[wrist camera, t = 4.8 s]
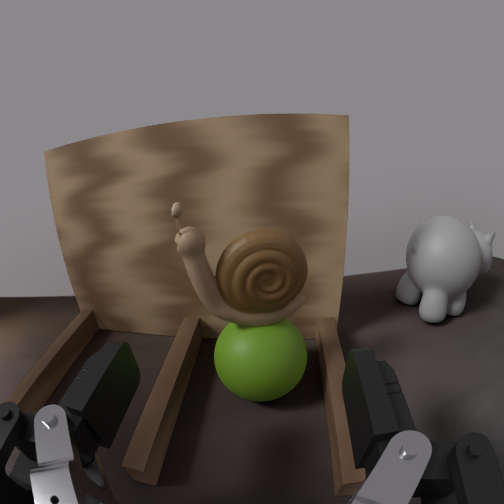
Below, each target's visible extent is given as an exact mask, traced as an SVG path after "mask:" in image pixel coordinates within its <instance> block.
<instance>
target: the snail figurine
mask: <svg viewBox="0 0 504 504" xmlns="http://www.w3.org/2000/svg"><path fill="white" fill-rule="evenodd" d="M182 211H183V205H182V204H181V203H179V202H175V203H174V204H173V206H172V209H171V215H172V217H174V218H175V219H176V226H177V231H178V233H177V234H176V236H175V243H176V244H177V245H178V247H177V251H178V252H179V254H180V255H181V256H182V258H183V261H184V264H185V267H186V270H187V273H188V275H189V278H190V280H191V282H192V285H193V287H194V289H195V291H196V293H197V295H198V297H199V298H200V300H201V301H202V303H203V304H204V306H205V307H206V308H207V309H208V310H209V311H210V312H211V313H212V314H213V315H214V316H216V317H217V318H219V319H221V320H224V321H227V322H230V323H229V324H228V325H227V326H226V327H225V328H224V329H223V331H222V332H221V334H220V335H219V337H218V340H217V342H216V345H215V350H214V363H215V368H216V371H217V374H218V376H219V378H220V379H221V381H222V382H223V384H224V385H225V386H226V387H227V388H228V389H229V390H230V391H231V392H233V393H234V394H236V395H237V396H239V397H241V398H244V399H247V400H251V401H270V400H274V399H277V398H279V397H282V396H284V395H285V394H287V393H288V392H290V391H291V390H292V389H293V388H294V387H295V386H296V385H297V384H298V382H299V381H300V379H301V378H302V376H303V374H304V371H305V368H306V364H307V348H306V344H305V341H304V339H303V336H302V335H301V333H300V331H299V330H298V329H297V327H296V326H295V325H294V324H293V323H292V322H290V321H289V320H288V319H287V318H289V317H290V316H291V315H293V314H294V313H295V312H296V311H297V310H298V309H299V308H300V307H301V306H302V304H303V303H304V301H305V297H304V296H297V295H298V294H299V293H300V292H301V290H302V289H303V287H304V284H305V282H306V279H307V274H308V264H307V260H306V256H305V254H304V252H303V250H302V248H301V246H300V245H299V244H298V243H297V242H296V241H295V240H294V239H293V238H291V237H290V236H288V235H286V234H284V233H282V232H279V231H275V230H269V229H260V230H254V231H250V232H248V233H245V234H243V235H241V236H239V237H237V238H236V239H234V240H233V241H232V242H231V243H230V244H229V245H228V246H227V247H226V248H225V250H224V251H223V252H222V254H221V256H220V258H219V260H218V263H217V267H216V274H215V276H214V275H213V272H212V270H211V268H210V265H209V263H208V260H207V258H206V255H205V246H206V239H205V236H204V234H203V233H202V231H201V230H199V229H198V228H195V227H185V228H182V229H181V227H180V224H179V218H178V217H180V216H181V215H182ZM177 222H178V223H177ZM178 226H179V228H178ZM179 230H180V231H179Z"/></svg>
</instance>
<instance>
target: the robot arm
mask: <svg viewBox="0 0 504 504" xmlns="http://www.w3.org/2000/svg"><path fill="white" fill-rule="evenodd" d="M139 382H140V371H139V368H138V366H137V363H136V361H135V358H134V356H133V353H132V350H131V347H130V345H129V344H128V343H127V342H120V341H112V340H109V341H108V342H107V343H106V344H105V345H104V347H103V348H102V350H101V351H97V352H96V353H95V354H93V355H92V356H91V357H90V358H88V359H87V361H86V362H85V364H84V365H83V367H82V370H80V371H79V373H78V374H77V377H75V378H74V380H73V381H72V383H71V384H70V386H69V387H68V389H67V391H66V392H65V394H64V395H63V397H62V398H61V400H60V401H59V403H58V404H57V405H47V406H45V407H43V408H41V409H40V410H39V411H38V412H37V413H27V412H22V411H21V410H20V408H19V407H18V406H17V404H15V403H14V402H5V403H3V404H1V405H0V504H119V503H118V501H117V500H116V499H115V497H114V496H113V494H112V492H111V490H110V487H109V485H108V482H107V479H106V476H105V473H104V470H103V467H102V464H101V461H100V457H99V454H98V452H97V451H96V450H97V448H98V446H102V447H105V448H109V449H110V447H111V444H112V442H113V440H114V438H115V435H116V433H117V431H118V429H119V426H120V424H121V422H122V420H123V418H124V415H125V413H126V411H127V409H128V407H129V405H130V402H131V400H132V398H133V396H134V394H135V392H136V390H137V388H138V385H139ZM398 382H399V381H398V379H397V376H396V374H395V371H394V369H393V368H392V367H391V366H390V365H389V364H388V363H387V362H386V361H377V362H376V359H375V356H374V353H373V351H372V349H371V348H359V349H350V350H349V352H348V356H347V361H346V365H345V370H344V374H343V379H342V394H343V400H344V405H345V411H346V416H347V422H348V428H349V433H350V439H351V446H352V452H353V459H354V465H355V469H360V468H365V473H366V477H365V479H364V480H363V482H362V483H361V485H360V486H359V488H358V489H357V490H356V492H355V493H354V495H353V496H352V497H351V499H350V500H349V502H348V503H347V504H408V503H409V501H410V499H411V497H421V502H422V504H504V483H503V480H502V476H501V473H500V470H499V466H498V463H497V460H496V457H495V454H494V451H493V448H492V446H491V443H490V441H489V440H488V439H487V437H485V436H484V435H482V434H480V433H468V434H466V435H464V436H463V437H462V438H461V439H460V440H459V441H458V442H433V441H430V440H429V439H428V438H427V437H426V436H425V435H423V434H422V433H420V432H418V431H417V430H416V428H415V425H414V422H413V420H412V417H411V414H410V411H409V408H408V405H407V403H406V400H405V397H404V394H403V393H402V389H401V386H400V384H399V383H398ZM15 446H16V447H17V448H18V449H19V450H20V451H21V453H20V455H19V457H18V459H17V461H16V463H15V465H14V468H13V470H12V472H11V474H10V475H9V476H7V474H6V472H5V465H6V463H7V461H8V459H9V457H10V455H11V453H12V451H13V449H14V447H15Z"/></svg>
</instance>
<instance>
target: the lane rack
mask: <svg viewBox="0 0 504 504" xmlns="http://www.w3.org/2000/svg"><path fill="white" fill-rule="evenodd" d="M44 156H45V165H46V173H47V180H48V187H49V193H50V199H51V205H52V210H53V215H54V220H55V225H56V229H57V234H58V238H59V242H60V246H61V250H62V254H63V257H64V261H65V264H66V268H67V272H68V275H69V278H70V281H71V284H72V288H73V291H74V294H75V297H76V300H77V303H78V305H79V308H80V311H81V312H80V313H79V314H78V315H77V316H76V317H75V318H74V319H73V321H72V322H71V323H70V324H69V325H68V326H67V327H66V328H65V330H64V331H63V332H62V333H61V334H60V335H59V336H58V338H57V339H56V340H55V341H54V342H53V343H52V344H51V346H50V347H49V348H48V349H47V350H46V352H45V353H44V354H43V355H42V356H41V358H40V359H39V360H38V361H37V362H36V364H35V365H34V366H33V367H32V369H31V370H30V371H29V372H28V374H27V375H26V376H25V377H24V379H23V380H22V381H21V383H20V384H19V385H18V386H17V388H16V389H15V390H14V392H13V393H12V394H11V396H10V397H9V398H8V400H7V401H6V402H14V403H15V404H17V406H18V407H19V408H20V410H21V411H22V412H27V413H37V412H38V411H39V410H40V409H41V408H43V406H44V405H45V403H46V402H47V400H48V399H49V397H50V396H51V394H52V393H53V391H54V390H55V389H56V387H57V386H58V384H59V383H60V381H61V380H62V378H63V377H64V376H65V374H66V373H67V371H68V370H69V369H70V367H71V366H72V364H73V363H74V362H75V360H76V359H77V358H78V356H79V355H80V354H81V352H82V351H83V350H84V348H85V347H86V346H87V344H88V343H89V342H90V340H91V339H92V338H93V336H94V335H95V334H96V332H97V331H98V330H99V329H107V330H115V331H123V332H133V333H143V334H154V335H166V336H176V337H175V339H174V341H173V343H172V346H171V348H170V350H169V352H168V355H167V357H166V359H165V361H164V364H163V366H162V368H161V370H160V373H159V375H158V377H157V380H156V382H155V384H154V387H153V389H152V391H151V394H150V396H149V398H148V401H147V403H146V405H145V408H144V410H143V412H142V415H141V417H140V420H139V422H138V424H137V427H136V429H135V432H134V434H133V437H132V439H131V442H130V444H129V446H128V449H127V451H126V454H125V457H124V459H123V462H122V464H121V466H122V467H123V468H124V470H125V471H126V472H127V473H128V474H129V475H130V476H131V477H132V478H133V479H134V480H135V481H137V482H141V483H145V484H149V485H153V486H156V485H157V482H158V478H159V475H160V472H161V468H162V465H163V462H164V458H165V455H166V452H167V449H168V445H169V442H170V439H171V436H172V433H173V429H174V426H175V423H176V420H177V417H178V413H179V410H180V407H181V404H182V401H183V398H184V395H185V392H186V388H187V385H188V382H189V379H190V376H191V373H192V370H193V367H194V364H195V361H196V358H197V355H198V352H199V349H200V346H201V343H202V340H203V338H218V337H219V335H220V334H221V332H222V331H223V329H224V328H225V327H226V326H227V325H228V324H229V323H230V322H227V321H224V320H221V319H219V318H217V317H216V316H214V315H213V314H212V313H211V312H210V311H209V310H208V309H207V308H206V307H205V306H204V304H203V303H202V301H201V300H200V298H199V297H198V295H197V293H196V291H195V289H194V287H193V285H192V282H191V280H190V278H189V275H188V273H187V270H186V267H185V264H184V261H183V258H182V256H181V255H180V254H179V252H178V251H177V247H178V245H177V244H176V243H175V236H176V234H177V233H178V231H177V226H176V219H175V218H174V217H172V215H171V209H172V206H173V204H174V203H175V202H179V203H181V204H182V205H183V211H182V215H181V216H180V217H178V218H179V224H180V227H181V229H182V228H185V227H195V228H198V229H199V230H201V231H202V233H203V234H204V236H205V239H206V246H205V255H206V258H207V260H208V263H209V265H210V268H211V270H212V272H213V275H214V276H215V274H216V267H217V263H218V260H219V258H220V256H221V254H222V252H223V251H224V250H225V248H226V247H227V246H228V245H229V244H230V243H231V242H232V241H233V240H234V239H236V238H237V237H239V236H241V235H243V234H245V233H248V232H250V231H254V230H260V229H269V230H275V231H279V232H282V233H284V234H286V235H288V236H290V237H291V238H293V239H294V240H295V241H296V242H297V243H298V244H299V245H300V246H301V248H302V250H303V252H304V254H305V256H306V260H307V264H308V274H307V279H306V282H305V284H304V287H303V289H302V290H301V292H300V293H299V294H298V295H297V296H304V297H305V301H304V303H303V304H302V306H301V307H300V308H299V309H298V310H297V311H296V312H295V313H294V314H293V315H291V316H290V317H289V318H287V319H288V320H289V321H290V322H292V323H293V324H294V325H295V326H296V327H297V329H298V330H299V331H300V333H301V335H302V336H303V339H314V338H315V339H316V345H317V352H318V358H319V365H320V372H321V379H322V386H323V393H324V401H325V408H326V416H327V424H328V433H329V442H330V451H331V461H332V472H333V483H334V495H335V497H338V496H346V495H353V494H354V493H355V492H356V490H357V489H358V488H359V486H360V485H361V483H362V482H363V480H364V479H365V477H366V473H365V468H360V469H355V465H354V459H353V452H352V446H351V439H350V433H349V428H348V422H347V416H346V411H345V405H344V400H343V394H342V379H343V374H344V370H345V365H346V364H345V360H344V356H343V352H342V348H341V344H340V341H339V337H338V333H337V324H338V316H339V309H340V300H341V292H342V283H343V273H344V262H345V250H346V236H347V220H348V198H349V116H348V115H330V114H258V115H240V116H226V117H215V118H204V119H195V120H187V121H179V122H172V123H166V124H158V125H152V126H147V127H142V128H136V129H130V130H125V131H121V132H116V133H112V134H107V135H103V136H98V137H94V138H91V139H87V140H82V141H79V142H75V143H71V144H68V145H64V146H61V147H58V148H54V149H51V150H48V151H45V152H44ZM177 223H178V222H177ZM178 228H179V226H178ZM179 231H180V230H179Z"/></svg>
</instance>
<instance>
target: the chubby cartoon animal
mask: <svg viewBox="0 0 504 504" xmlns="http://www.w3.org/2000/svg"><path fill="white" fill-rule="evenodd" d="M494 236H495V232H490V233H488V234H487V235H485V234H483V233H482V232H480V231H477V230H476V229H475V224H474V222H473V221H472V222H471V223H470V225H467V224H466V223H465V222H464V221H462V220H461V219H458V218H456V217H453V216H449V215H439V216H434V217H431V218H429V219H427V220H425V221H424V222H423V223H421V224H420V225H419V226H418V227H417V228H416V229H415V231H414V232H413V234H412V235H411V237H410V240H409V242H408V246H407V251H406V263H407V271H406V273H405V274H404V275H403V277H402V278H401V280H400V281H399V283H398V286H397V289H396V297H397V299H398V300H399V301H401V302H403V303H405V304H408V305H415V304H417V303H418V302H419V300H420V299H421V296H422V300H421V303H420V307H419V315H420V317H421V318H422V320H424V321H426V322H430V323H438V322H441V321H442V320H443V319H444V318H445V316H446V314H447V315H451V316H458V315H460V314H461V313H462V311H463V310H464V307H465V303H466V290H468V289H469V288H470V287H471V285H472V284H473V283H474V281H475V279H476V278H477V275H483V274H485V273H487V272H488V270H489V269H490V266H491V263H492V261H491V259H492V249H493V244H492V242H493V239H494Z"/></svg>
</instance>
